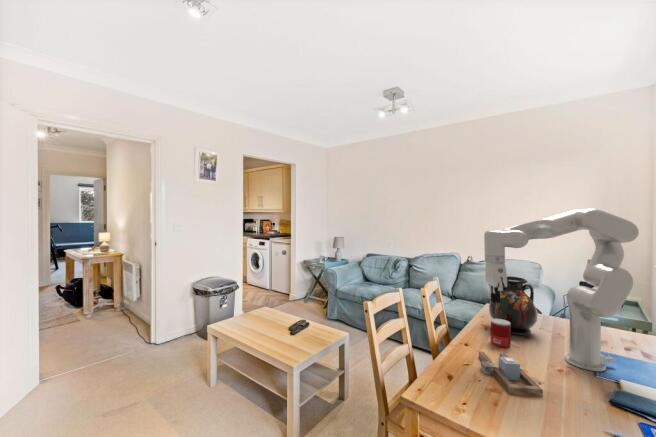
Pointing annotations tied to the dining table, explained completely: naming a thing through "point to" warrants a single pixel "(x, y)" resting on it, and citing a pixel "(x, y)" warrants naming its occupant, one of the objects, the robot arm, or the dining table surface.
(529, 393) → the beam slot
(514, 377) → the block
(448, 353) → the dining table surface
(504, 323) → the canned food
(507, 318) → the amphora vase
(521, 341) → the dining table surface
